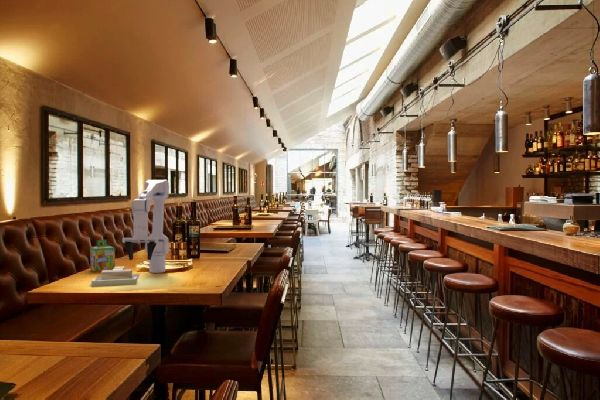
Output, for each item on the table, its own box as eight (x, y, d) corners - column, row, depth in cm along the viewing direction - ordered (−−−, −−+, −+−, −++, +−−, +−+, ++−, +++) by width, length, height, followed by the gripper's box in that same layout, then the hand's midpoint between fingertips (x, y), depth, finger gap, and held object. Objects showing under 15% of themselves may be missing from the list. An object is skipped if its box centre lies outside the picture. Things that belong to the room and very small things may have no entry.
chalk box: (96, 273, 222) (95, 242, 222) (89, 270, 229) (89, 240, 229) (115, 270, 228) (115, 240, 228) (109, 268, 235) (108, 238, 235)
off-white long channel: (93, 283, 195) (93, 278, 195) (137, 281, 200) (136, 276, 200) (91, 286, 191) (91, 281, 190) (136, 283, 195) (135, 278, 195)
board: (97, 277, 212) (97, 275, 212) (140, 275, 216) (140, 273, 216) (89, 288, 190) (89, 286, 190) (136, 286, 195) (136, 283, 195)
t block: (105, 276, 211) (105, 267, 210) (133, 274, 214) (133, 266, 213) (101, 281, 199) (101, 272, 199) (131, 280, 202) (131, 270, 202)
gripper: (119, 227, 194) (119, 260, 193) (154, 227, 193) (154, 260, 193) (126, 227, 201) (125, 259, 200) (160, 227, 200) (159, 259, 200)
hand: (140, 260), depth 197 cm, fingers open, 7 cm apart
